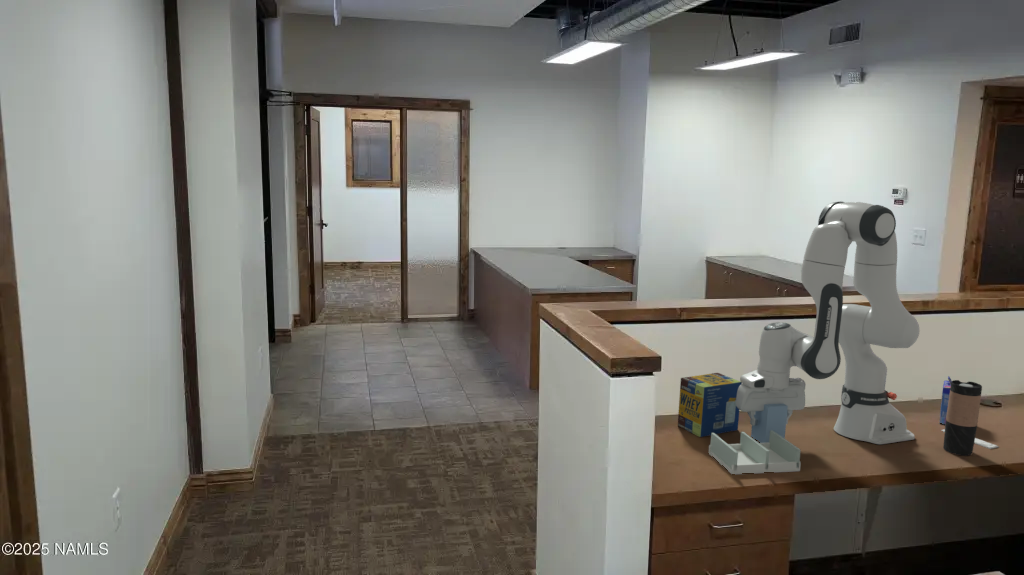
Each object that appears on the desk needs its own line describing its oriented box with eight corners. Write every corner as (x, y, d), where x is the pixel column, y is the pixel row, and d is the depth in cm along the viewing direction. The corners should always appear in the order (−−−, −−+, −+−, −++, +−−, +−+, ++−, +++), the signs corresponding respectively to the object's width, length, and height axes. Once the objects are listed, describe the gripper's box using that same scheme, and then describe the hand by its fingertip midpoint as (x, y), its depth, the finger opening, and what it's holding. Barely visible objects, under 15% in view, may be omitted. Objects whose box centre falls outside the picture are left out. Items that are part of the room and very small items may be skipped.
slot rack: (772, 450, 203) (774, 430, 202) (799, 471, 189) (802, 449, 188) (708, 453, 200) (709, 432, 199) (732, 474, 186) (733, 452, 185)
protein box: (676, 426, 221) (679, 377, 218) (714, 419, 228) (718, 372, 225) (700, 437, 211) (703, 387, 209) (739, 430, 218) (743, 381, 216)
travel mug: (961, 457, 201) (970, 389, 198) (936, 447, 208) (944, 381, 205) (979, 454, 204) (988, 386, 201) (953, 444, 211) (962, 378, 208)
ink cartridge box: (939, 415, 237) (944, 372, 235) (958, 418, 234) (964, 375, 232) (938, 423, 229) (943, 379, 227) (958, 427, 226) (964, 383, 224)
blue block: (769, 435, 214) (773, 397, 212) (783, 446, 207) (787, 406, 205) (750, 436, 213) (754, 397, 211) (764, 446, 206) (768, 406, 204)
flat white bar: (951, 430, 224) (952, 427, 224) (1000, 448, 211) (1001, 444, 210) (940, 432, 222) (941, 428, 222) (989, 450, 209) (989, 446, 208)
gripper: (799, 374, 212) (795, 419, 214) (735, 376, 208) (731, 421, 211) (812, 380, 206) (807, 426, 208) (745, 382, 202) (741, 429, 204)
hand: (768, 424), depth 209 cm, fingers open, 8 cm apart
